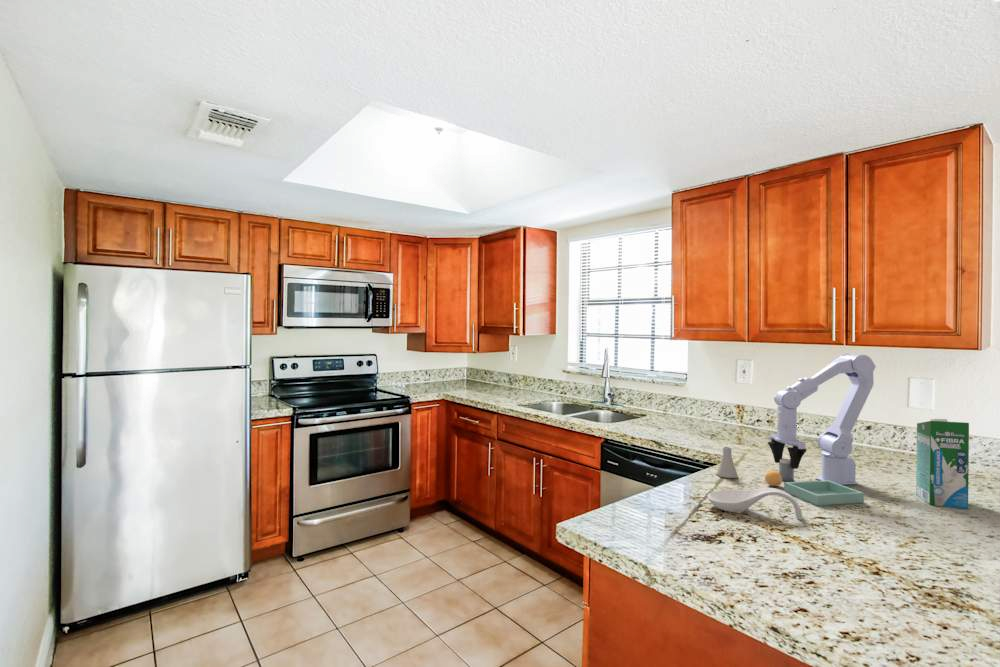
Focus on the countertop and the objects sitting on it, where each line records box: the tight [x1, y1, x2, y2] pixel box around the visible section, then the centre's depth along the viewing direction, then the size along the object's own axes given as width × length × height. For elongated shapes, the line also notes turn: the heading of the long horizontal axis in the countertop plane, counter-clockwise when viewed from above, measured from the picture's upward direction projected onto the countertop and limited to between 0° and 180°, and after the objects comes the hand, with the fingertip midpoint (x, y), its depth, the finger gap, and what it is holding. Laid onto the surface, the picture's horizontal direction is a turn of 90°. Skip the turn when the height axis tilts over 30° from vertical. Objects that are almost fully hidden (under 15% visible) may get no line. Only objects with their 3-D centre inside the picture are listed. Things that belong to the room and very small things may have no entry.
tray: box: [783, 480, 865, 507], centre depth 154 cm, size 16×13×3 cm
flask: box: [716, 446, 739, 479], centre depth 176 cm, size 7×7×10 cm
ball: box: [764, 470, 783, 487], centre depth 165 cm, size 5×5×5 cm
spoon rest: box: [707, 487, 803, 521], centre depth 141 cm, size 24×12×7 cm, turn 68°
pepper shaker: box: [778, 458, 795, 483], centre depth 171 cm, size 4×4×7 cm
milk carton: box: [915, 418, 970, 510], centre depth 150 cm, size 9×9×25 cm
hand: (786, 465), depth 171 cm, fingers open, 7 cm apart
